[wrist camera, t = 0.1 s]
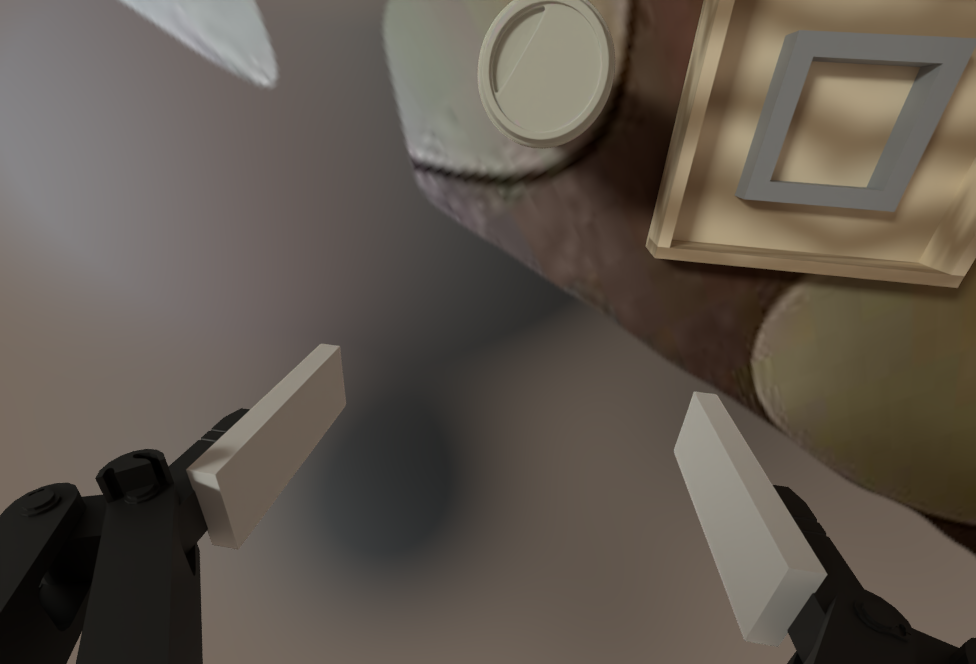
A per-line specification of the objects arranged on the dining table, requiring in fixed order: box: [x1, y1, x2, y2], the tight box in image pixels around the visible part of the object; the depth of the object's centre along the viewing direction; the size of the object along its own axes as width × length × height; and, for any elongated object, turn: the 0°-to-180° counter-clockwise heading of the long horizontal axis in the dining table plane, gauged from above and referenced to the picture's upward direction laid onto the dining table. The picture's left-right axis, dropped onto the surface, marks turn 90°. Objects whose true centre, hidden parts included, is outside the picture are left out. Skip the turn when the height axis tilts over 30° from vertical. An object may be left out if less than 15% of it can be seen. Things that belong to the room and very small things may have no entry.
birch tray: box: [646, 0, 976, 288], centre depth 32 cm, size 22×24×4 cm
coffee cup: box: [478, 0, 615, 148], centre depth 30 cm, size 8×8×12 cm
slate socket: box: [735, 30, 976, 212], centre depth 32 cm, size 12×12×2 cm
